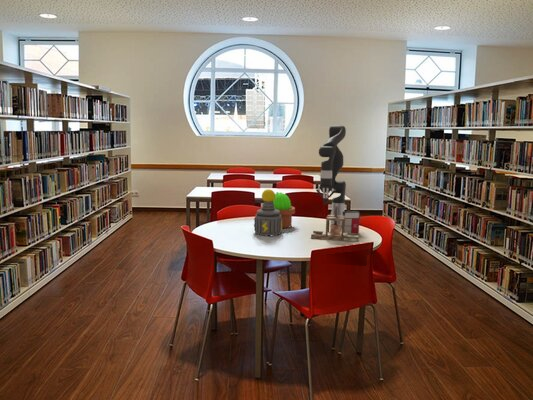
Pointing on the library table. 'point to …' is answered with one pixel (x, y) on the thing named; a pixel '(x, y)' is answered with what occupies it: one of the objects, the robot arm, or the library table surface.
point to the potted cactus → (284, 209)
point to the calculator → (351, 221)
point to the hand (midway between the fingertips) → (325, 203)
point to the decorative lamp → (268, 216)
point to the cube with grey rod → (335, 227)
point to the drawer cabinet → (348, 238)
